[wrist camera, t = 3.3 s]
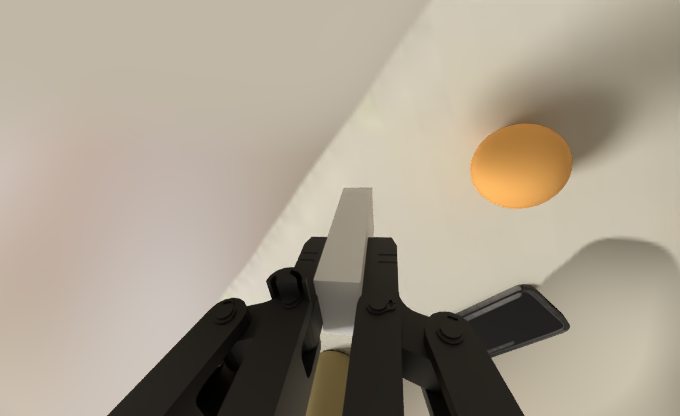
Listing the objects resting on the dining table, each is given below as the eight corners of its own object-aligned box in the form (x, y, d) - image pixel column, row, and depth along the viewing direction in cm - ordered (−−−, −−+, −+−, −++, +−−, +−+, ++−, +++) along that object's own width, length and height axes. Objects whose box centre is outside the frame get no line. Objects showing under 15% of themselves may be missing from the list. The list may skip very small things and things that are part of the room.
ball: (555, 112, 18) (613, 134, 13) (533, 186, 20) (574, 225, 16) (468, 117, 19) (493, 139, 14) (458, 186, 21) (476, 224, 17)
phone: (407, 341, 32) (529, 286, 25) (407, 332, 33) (524, 277, 25) (450, 372, 34) (575, 329, 26) (448, 363, 35) (569, 320, 27)
